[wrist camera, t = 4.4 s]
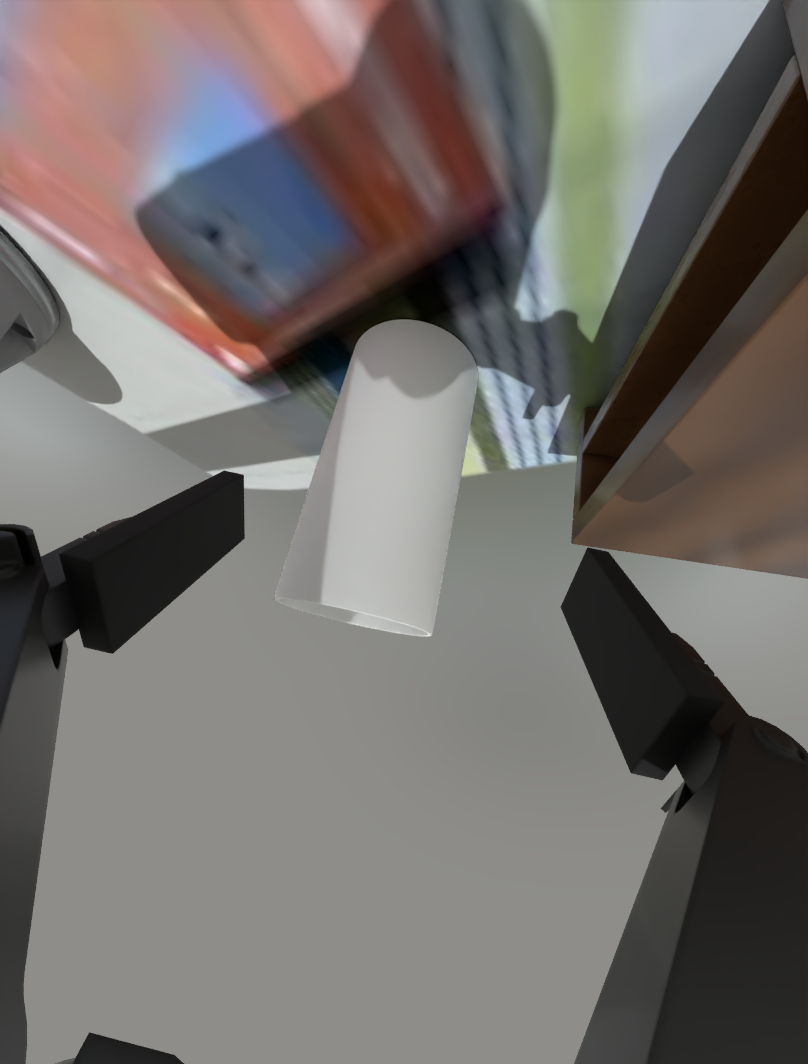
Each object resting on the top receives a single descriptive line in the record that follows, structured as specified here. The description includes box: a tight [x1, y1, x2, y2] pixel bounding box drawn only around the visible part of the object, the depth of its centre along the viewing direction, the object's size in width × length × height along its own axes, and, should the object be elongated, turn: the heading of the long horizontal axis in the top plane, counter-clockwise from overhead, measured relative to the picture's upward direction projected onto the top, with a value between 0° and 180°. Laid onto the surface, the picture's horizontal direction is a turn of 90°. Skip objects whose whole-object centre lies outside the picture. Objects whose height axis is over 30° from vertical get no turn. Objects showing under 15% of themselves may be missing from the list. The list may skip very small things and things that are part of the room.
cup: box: [274, 319, 478, 636], centre depth 22 cm, size 8×8×16 cm
